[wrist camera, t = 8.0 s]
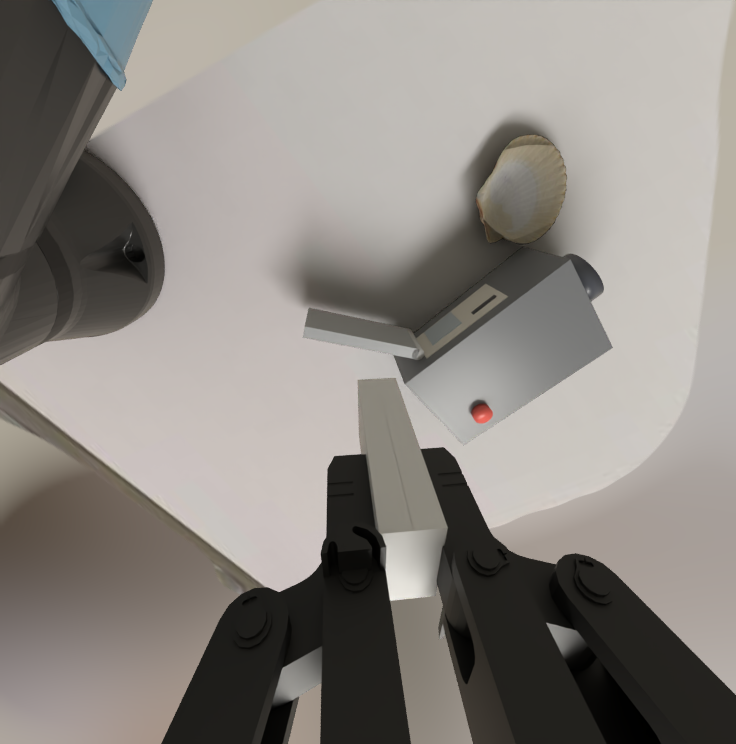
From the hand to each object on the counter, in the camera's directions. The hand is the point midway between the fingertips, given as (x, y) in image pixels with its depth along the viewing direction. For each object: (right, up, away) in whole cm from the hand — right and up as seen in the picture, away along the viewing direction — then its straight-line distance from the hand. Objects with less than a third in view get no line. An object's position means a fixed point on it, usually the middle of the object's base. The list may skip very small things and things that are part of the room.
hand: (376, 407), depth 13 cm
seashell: (+12, +17, +16) cm, 26 cm away
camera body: (+12, +6, +21) cm, 25 cm away
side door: (-1, +6, +19) cm, 19 cm away
